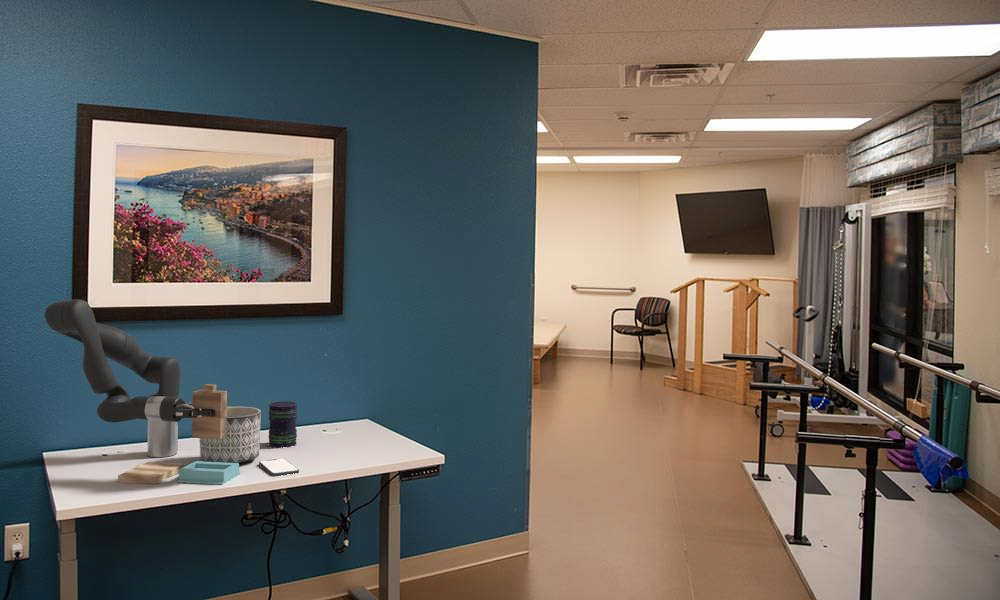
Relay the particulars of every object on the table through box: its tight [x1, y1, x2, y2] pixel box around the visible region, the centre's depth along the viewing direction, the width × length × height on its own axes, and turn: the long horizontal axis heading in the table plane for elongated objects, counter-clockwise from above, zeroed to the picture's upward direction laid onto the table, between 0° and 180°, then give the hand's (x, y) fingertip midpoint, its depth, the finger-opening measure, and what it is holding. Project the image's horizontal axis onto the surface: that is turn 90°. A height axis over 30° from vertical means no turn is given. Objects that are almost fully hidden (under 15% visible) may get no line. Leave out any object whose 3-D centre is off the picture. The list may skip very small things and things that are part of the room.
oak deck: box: [117, 461, 185, 485], centre depth 235 cm, size 16×12×2 cm
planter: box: [199, 406, 262, 464], centre depth 254 cm, size 19×19×16 cm
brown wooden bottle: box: [191, 383, 228, 439], centre depth 233 cm, size 4×9×16 cm, turn 84°
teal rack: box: [177, 460, 241, 486], centre depth 234 cm, size 12×14×4 cm
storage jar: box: [268, 401, 298, 449], centre depth 278 cm, size 10×10×15 cm
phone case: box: [258, 458, 300, 477], centre depth 246 cm, size 9×2×16 cm
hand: (218, 411), depth 233 cm, fingers closed on brown wooden bottle, 4 cm apart
